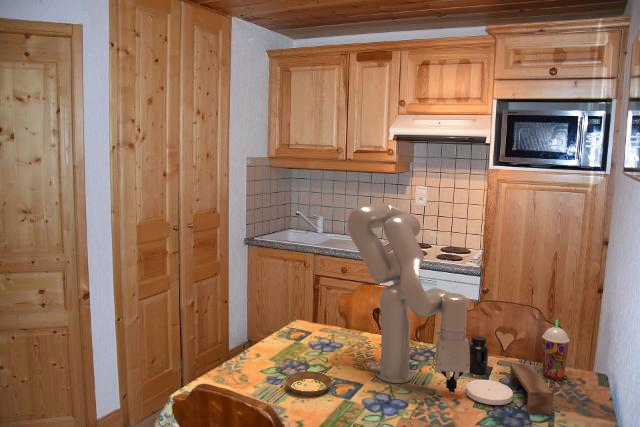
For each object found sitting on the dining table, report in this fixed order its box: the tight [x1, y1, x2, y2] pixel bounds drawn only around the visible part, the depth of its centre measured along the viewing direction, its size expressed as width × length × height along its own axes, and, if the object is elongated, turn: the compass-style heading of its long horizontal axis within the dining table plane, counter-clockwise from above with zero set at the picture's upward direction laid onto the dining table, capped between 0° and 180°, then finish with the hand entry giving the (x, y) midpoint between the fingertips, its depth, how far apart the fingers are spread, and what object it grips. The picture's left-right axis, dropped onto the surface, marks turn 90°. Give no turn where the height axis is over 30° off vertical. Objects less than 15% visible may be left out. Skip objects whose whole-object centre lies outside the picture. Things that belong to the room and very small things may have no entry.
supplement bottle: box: [469, 335, 489, 375], centre depth 182 cm, size 7×7×12 cm
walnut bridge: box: [508, 363, 554, 416], centre depth 162 cm, size 6×20×7 cm, turn 176°
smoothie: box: [542, 319, 570, 381], centre depth 177 cm, size 8×8×20 cm
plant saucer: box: [285, 371, 333, 396], centre depth 168 cm, size 15×15×3 cm
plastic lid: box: [465, 379, 514, 406], centre depth 164 cm, size 14×14×2 cm
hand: (451, 390), depth 164 cm, fingers closed
